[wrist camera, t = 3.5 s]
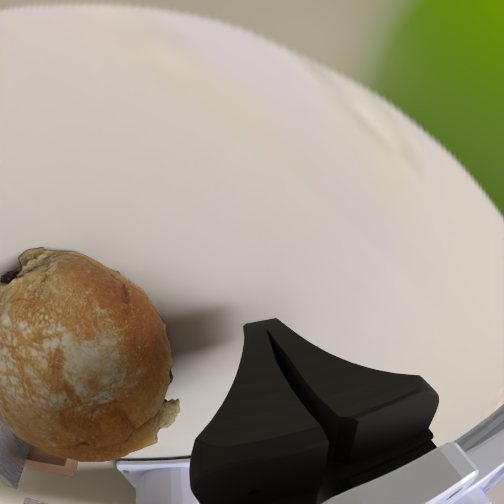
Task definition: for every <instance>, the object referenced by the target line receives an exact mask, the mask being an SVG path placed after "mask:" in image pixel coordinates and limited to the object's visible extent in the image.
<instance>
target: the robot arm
mask: <svg viewBox="0 0 504 504" xmlns="http://www.w3.org/2000/svg"><path fill="white" fill-rule="evenodd" d="M243 329H244V336H245V337H244V346H243V352H242V357H241V361H240V364H239V368H238V371H237V374H236V377H235V379H234V382H233V384H232V386H231V388H230V390H229V392H228V395H227V397H226V398H225V400H224V402H223V404H222V405H221V407H220V408H219V410H218V411H217V413H216V414H215V416H214V417H213V419H212V420H211V421H210V423H209V424H208V425H207V426H206V427H205V428H204V430H203V431H202V432H201V433H200V434H199V435H198V436H197V438H196V439H195V442H194V446H193V450H192V454H191V458H189V459H176V460H157V461H118V462H117V464H116V467H117V468H118V470H119V471H120V472H121V473H122V474H123V476H124V477H125V478H126V479H127V480H128V481H129V482H130V484H131V485H132V486H133V487H134V488H135V489H136V504H492V503H491V502H490V500H489V499H488V497H487V496H486V495H485V493H486V492H487V491H489V490H490V489H491V488H492V487H493V486H494V485H495V484H497V482H499V481H500V480H501V479H502V478H503V477H504V404H503V405H502V406H501V407H500V408H498V409H497V410H496V411H495V412H494V413H492V414H491V415H490V416H489V417H487V418H486V419H485V420H483V421H482V422H481V423H479V424H478V425H477V426H475V427H474V428H473V429H471V430H470V431H468V432H467V433H466V434H464V435H463V436H461V437H460V438H458V439H457V440H455V441H454V442H450V443H446V444H444V445H442V446H440V447H438V448H437V447H436V445H435V444H434V443H433V442H432V440H431V439H433V437H434V436H433V433H432V432H431V431H430V430H429V426H430V424H431V421H432V419H433V417H434V415H435V413H436V410H437V407H438V404H439V395H438V394H437V393H436V391H435V390H434V389H433V388H432V387H431V386H430V385H429V384H428V383H427V382H426V381H425V380H424V379H423V378H422V377H421V376H419V375H407V374H397V373H390V372H385V371H380V370H375V369H371V368H367V367H364V366H361V365H357V364H354V363H351V362H349V361H346V360H343V359H341V358H339V357H336V356H334V355H332V354H330V353H328V352H326V351H324V350H322V349H320V348H318V347H317V346H315V345H313V344H312V343H310V342H308V341H307V340H305V339H304V338H302V337H301V336H299V335H298V334H297V333H295V332H294V331H293V330H291V329H290V328H289V327H287V326H286V325H285V324H283V323H282V322H281V321H280V320H278V319H277V318H274V319H269V320H263V321H258V322H253V323H247V324H245V325H244V326H243ZM24 504H47V503H43V502H39V501H36V500H32V499H29V498H25V501H24Z"/></svg>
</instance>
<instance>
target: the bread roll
mask: <svg viewBox="0 0 504 504" xmlns="http://www.w3.org/2000/svg"><path fill="white" fill-rule="evenodd" d="M19 261H20V263H21V265H22V266H20V267H19V268H17V269H16V270H15V271H10V272H8V273H7V274H6V275H4V276H3V277H2V278H1V282H0V421H2V422H3V423H4V424H6V425H8V426H9V427H10V429H11V430H12V431H13V432H14V433H15V434H16V435H17V436H18V437H19V438H21V439H22V440H24V441H26V442H28V443H29V444H31V445H33V446H35V447H37V448H38V449H40V450H42V451H43V452H45V453H47V454H50V455H55V456H59V457H62V458H67V459H72V460H76V461H80V462H104V461H109V460H113V459H116V458H120V457H125V456H126V455H128V454H129V453H131V452H134V451H137V450H140V449H142V448H145V447H147V446H150V445H152V444H155V443H157V442H158V438H157V433H158V430H159V429H161V428H168V427H169V426H170V425H171V424H172V423H173V422H174V421H175V418H176V416H177V414H178V413H179V412H180V407H179V403H180V401H179V398H178V399H177V400H173V399H171V400H170V401H167V400H166V399H165V395H166V392H167V389H168V386H169V384H170V383H171V382H172V380H173V375H172V373H171V370H170V369H171V366H172V363H173V359H172V356H171V353H172V352H171V348H170V343H169V340H168V337H167V334H166V331H165V329H166V324H164V323H163V322H162V320H161V318H160V316H159V314H158V313H157V311H156V309H155V307H154V306H153V304H152V303H151V301H150V299H149V298H148V297H147V296H146V294H145V293H144V291H143V290H142V289H141V288H139V287H136V286H135V285H134V284H132V283H131V282H130V281H129V280H127V279H126V278H125V277H123V276H122V275H121V274H120V273H119V272H118V271H114V270H111V269H109V268H107V267H105V266H103V265H102V264H100V263H99V262H97V261H95V260H93V259H92V258H90V257H88V256H85V255H82V254H80V253H77V252H75V251H61V252H57V251H47V250H45V249H44V248H43V247H40V248H37V249H30V250H28V251H25V252H24V253H23V254H22V255H21V256H20V257H19Z"/></svg>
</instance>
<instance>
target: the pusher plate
mask: <svg viewBox="0 0 504 504" xmlns="http://www.w3.org/2000/svg"><path fill="white" fill-rule="evenodd" d="M30 447H31V444H29V443H28V442H26V441H24V440H22V439H21V438H19V437H18V436H17V435H16V434H15V433H14V432H13V431H12V430H11V429H10V427H9V426H8V425H6V424H4V423H3V422H2V421H0V479H1V480H2V481H3V482H4V483H5V484H6V485H8V486H10V487H13V488H16V489H17V485H18V482H19V479H20V476H21V473H22V470H23V467H24V464H25V461H26V458H27V455H28V453H29V450H30Z"/></svg>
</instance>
